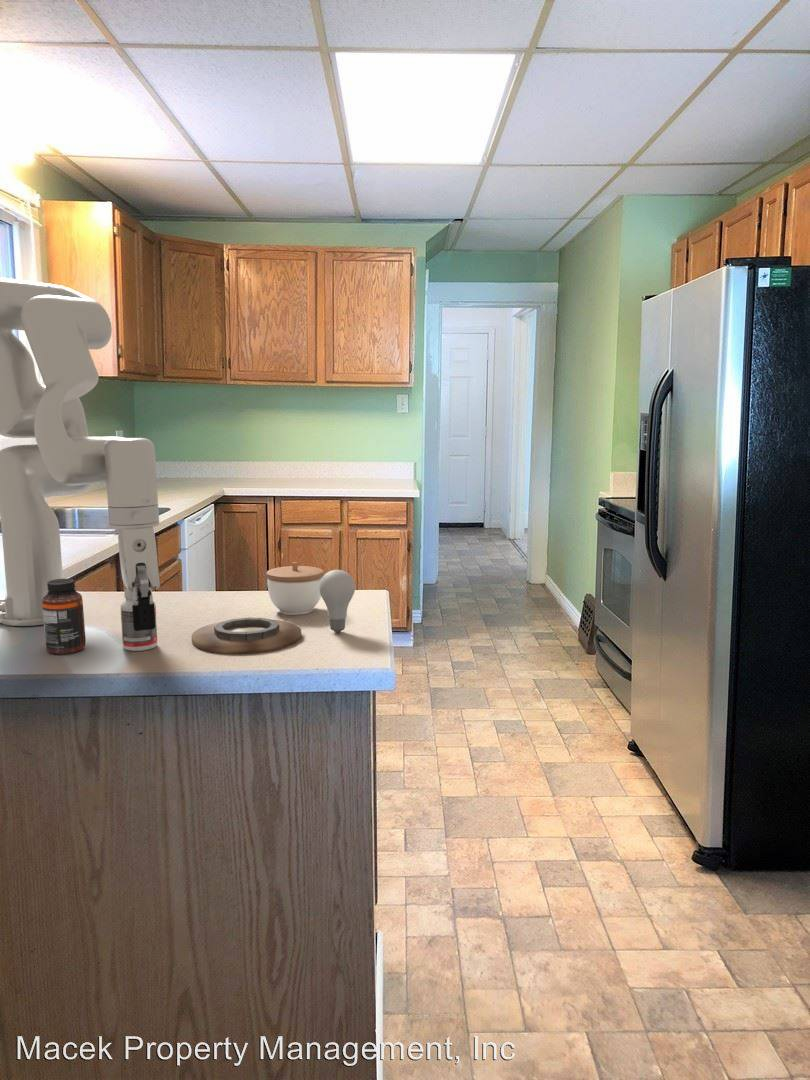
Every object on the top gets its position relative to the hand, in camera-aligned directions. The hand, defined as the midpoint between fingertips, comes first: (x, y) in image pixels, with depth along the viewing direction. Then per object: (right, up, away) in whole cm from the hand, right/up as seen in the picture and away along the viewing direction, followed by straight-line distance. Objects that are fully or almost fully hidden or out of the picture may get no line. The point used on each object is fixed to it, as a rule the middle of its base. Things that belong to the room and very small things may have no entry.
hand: (140, 622), depth 133 cm
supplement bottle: (-12, -5, -1) cm, 13 cm away
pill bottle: (0, -4, +1) cm, 4 cm away
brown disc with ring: (+16, -3, +6) cm, 17 cm away
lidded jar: (+22, 0, +25) cm, 33 cm away
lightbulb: (+31, -3, +9) cm, 32 cm away
